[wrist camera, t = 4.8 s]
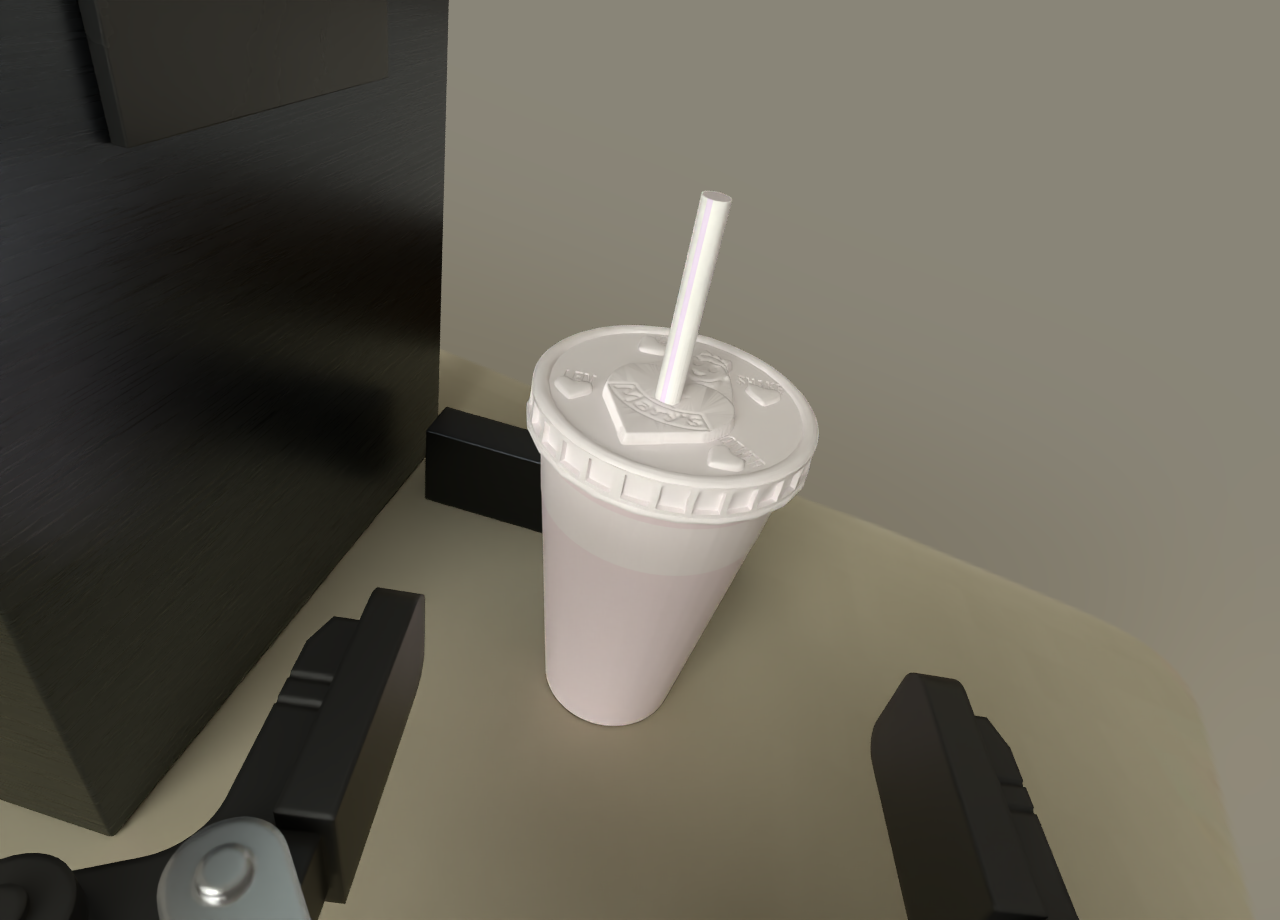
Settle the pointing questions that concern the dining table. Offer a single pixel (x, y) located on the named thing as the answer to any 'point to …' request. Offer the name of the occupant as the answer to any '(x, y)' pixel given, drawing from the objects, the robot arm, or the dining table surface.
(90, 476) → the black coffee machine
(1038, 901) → the robot arm
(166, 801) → the dining table surface
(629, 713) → the smoothie
